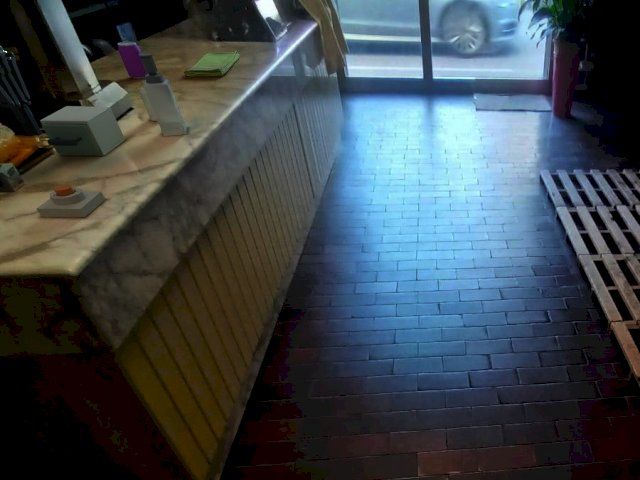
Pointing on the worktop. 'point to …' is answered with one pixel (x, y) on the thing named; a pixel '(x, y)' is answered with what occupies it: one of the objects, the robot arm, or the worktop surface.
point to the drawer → (70, 138)
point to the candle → (147, 104)
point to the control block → (71, 204)
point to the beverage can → (132, 59)
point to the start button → (64, 190)
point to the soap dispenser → (162, 99)
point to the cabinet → (91, 125)
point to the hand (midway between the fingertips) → (35, 134)
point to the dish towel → (213, 65)
